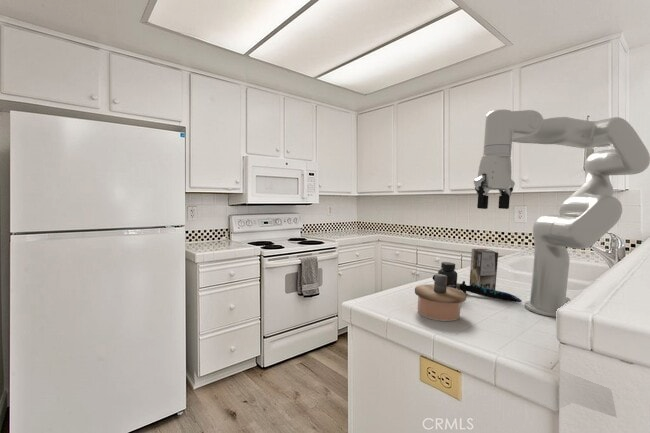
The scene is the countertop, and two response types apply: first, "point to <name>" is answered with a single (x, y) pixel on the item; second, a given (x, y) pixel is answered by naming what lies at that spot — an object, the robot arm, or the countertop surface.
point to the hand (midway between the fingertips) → (493, 208)
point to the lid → (440, 291)
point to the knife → (486, 292)
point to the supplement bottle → (449, 273)
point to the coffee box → (484, 268)
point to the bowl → (438, 310)
